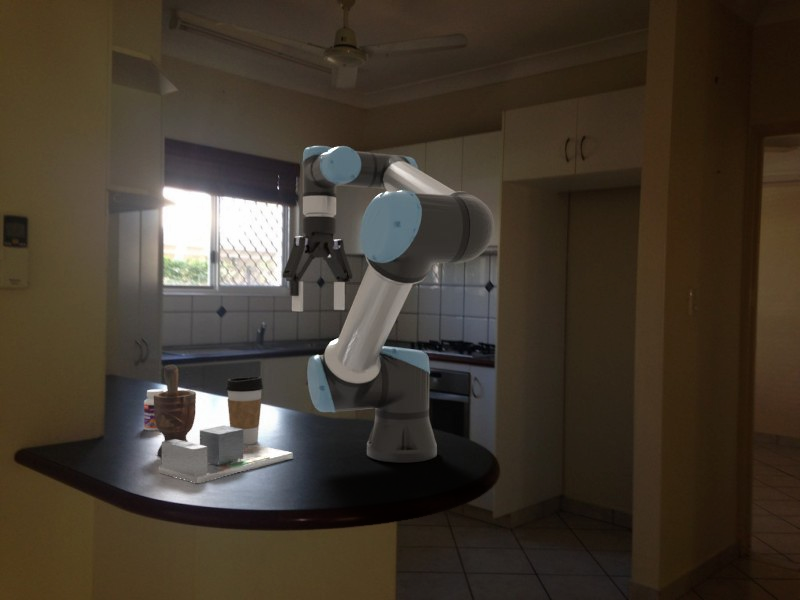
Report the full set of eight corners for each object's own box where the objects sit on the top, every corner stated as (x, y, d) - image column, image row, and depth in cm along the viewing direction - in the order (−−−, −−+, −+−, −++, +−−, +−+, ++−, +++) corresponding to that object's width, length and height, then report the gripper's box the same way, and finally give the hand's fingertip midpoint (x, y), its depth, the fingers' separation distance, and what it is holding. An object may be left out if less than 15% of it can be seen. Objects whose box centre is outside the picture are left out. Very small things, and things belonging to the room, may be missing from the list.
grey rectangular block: (250, 460, 137) (250, 430, 137) (226, 467, 132) (226, 435, 132) (224, 454, 142) (224, 425, 142) (199, 460, 137) (199, 430, 137)
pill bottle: (139, 430, 172) (139, 391, 172) (152, 426, 177) (151, 388, 177) (158, 431, 171) (158, 392, 171) (170, 427, 176) (170, 389, 176)
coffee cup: (254, 447, 155) (254, 380, 155) (219, 445, 157) (219, 379, 157) (268, 439, 163) (268, 375, 163) (235, 437, 165) (235, 374, 165)
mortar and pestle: (204, 458, 145) (204, 363, 144) (161, 464, 140) (161, 365, 140) (190, 447, 154) (190, 358, 154) (150, 452, 150) (149, 360, 150)
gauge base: (292, 458, 145) (292, 429, 145) (197, 484, 126) (197, 450, 126) (254, 449, 153) (254, 421, 153) (158, 472, 134) (158, 441, 133)
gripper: (343, 221, 168) (343, 308, 169) (266, 212, 149) (266, 311, 149) (367, 220, 164) (367, 309, 164) (290, 210, 144) (290, 312, 145)
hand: (319, 310), depth 157 cm, fingers open, 13 cm apart
